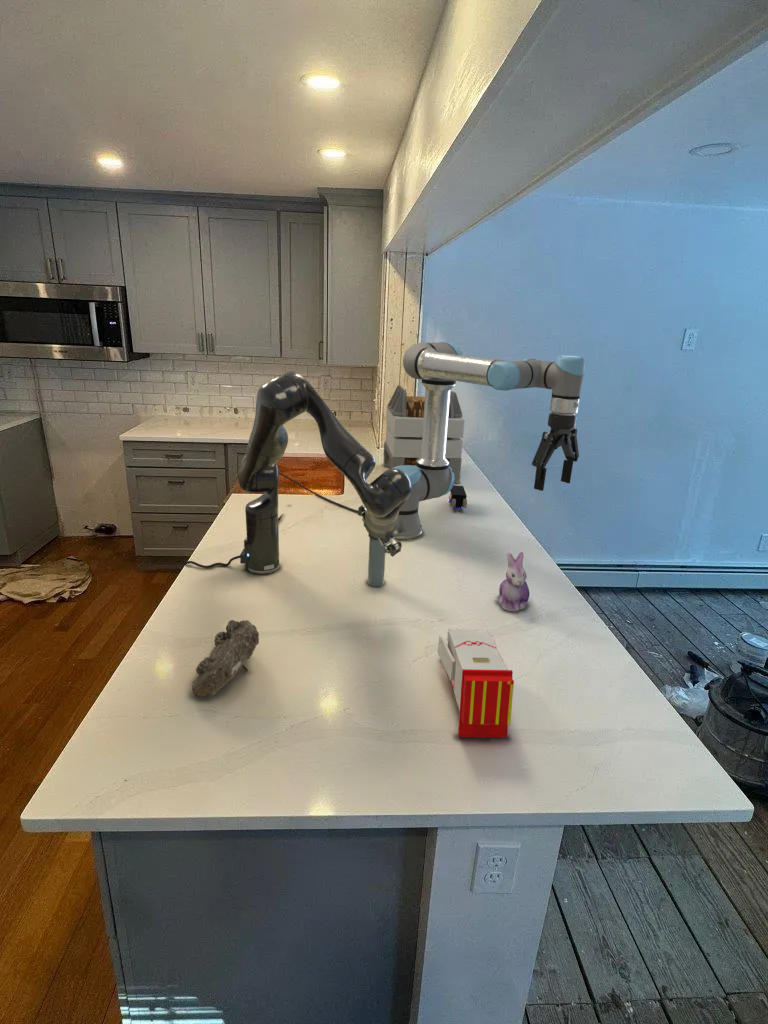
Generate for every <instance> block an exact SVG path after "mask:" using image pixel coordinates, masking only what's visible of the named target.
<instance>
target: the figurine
mask: <svg viewBox="0 0 768 1024" xmlns="http://www.w3.org/2000/svg"><path fill="white" fill-rule="evenodd" d="M506 556H507V569H506V571H505V579H504V580H502V581H501V583H500V585H499V591H498V592H499V593H498V597H497V598H498V600H497V601H498V604H499V605H500V606H501V607H502V609H503V610H505V611H507V612H508V611H509V612H518V611H520V610H521V611H522V610H524V609H525V608H526V607H527V605H528V601H529V599H530V588H529V585H528V584H527V581H526V580H527V571H526V570H525V567H524V552H523V551H520V552H519V553H518V555H517V557H516V559H515V557H514V556H513V554H512V553H511V552H508V553H507V555H506Z"/></svg>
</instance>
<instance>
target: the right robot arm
mask: <svg viewBox="0 0 768 1024" xmlns="http://www.w3.org/2000/svg"><path fill="white" fill-rule="evenodd" d="M585 365H586V360H585V358H584V357H582V356H578V355H566V354H565V355H564V354H563V355H558V356H557V357H556V360H555V361H549V360H541V359H536V358H524V359H521V360H506V359H505V360H504V359H503V360H502V359H496V358H487V357H479V356H471V355H464V354H463V352H462V350H461V349H460V347H459V346H457V345H456V344H455V343H451V342H445V341H443V342H442V341H441V342H440V341H439V342H438V341H437V342H417V343H414V344H412V345H411V346H409V347H408V348H407V350H406V351H405V353H404V355H403V358H402V366H403V369H404V372H405V373H406V374H407V375H408V376H409V377H411V378H412V379H415V380H421V385H422V386H423V387H424V389H425V392H424V397H425V404H424V419H423V434H422V449H421V457H420V458H418V459H417V461H416V466H413V465H401V466H396V467H394V468H395V469H399V470H401V471H403V472H404V473H405V474H406V475H407V476H408V477H409V479H410V482H411V485H412V492H411V495H410V497H409V499H408V500H407V501H406V503H405V504H404V505H403V506H402V508H401V509H400V510H399V518H398V522H397V525H396V529H395V531H394V533H393V536H394V538H395V539H394V540H395V541H410V540H415V539H418V538H420V537H421V536H422V535H423V525H422V524H421V518H420V515H419V507H420V506H419V505H420V502H423V501H427V500H431V499H437V498H440V497H443V496H446V495H448V493H450V490H451V489H452V487H453V485H454V484H455V483H454V473H452V469H451V467H450V466H449V462H448V461H447V459H446V458H445V453H446V441H447V428H448V416H449V404H450V392H451V391H452V389H453V388H454V387H455V386H456V384H457V382H461V383H465V384H473V385H479V386H487V387H491V388H492V389H494V390H496V391H503V392H504V391H511V390H520V389H532V388H533V389H534V388H539V389H546V390H551V398H550V404H549V413H548V418H547V419H548V420H547V426H548V427H549V428H550V431H549V432H548V431H543V432H542V435H541V440H540V442H539V445H538V447H537V449H536V452H535V454H534V457H533V460H532V461H531V466H533V467H535V475H534V477H535V478H534V485H533V489H534V490H537V491H539V492H543V491H544V489H545V484H546V483H545V482H546V476H547V468H546V466H547V465H548V463H549V461H550V459H551V457H552V456H553V454H554V453H555V451H556V450H557V449H558V448H560V447H561V449H562V452H563V455H564V458H565V459H563V463H562V468H561V469H562V470H561V475H560V482H562V483H566V484H571V478H572V472H573V466H574V463H576V462H578V461H579V457H580V453H579V444H578V428H576V423H577V419H578V416H577V414H578V412H579V411H578V410H579V406H580V397H581V391H582V385H583V380H584V376H585ZM279 476H282V477H284V478H286V479H287V480H289V481H291V482H293V483H294V484H296V485H298V486H300V488H302V489H304V490H306V491H308V492H309V493H312V494H313V495H315V496H317V497H319V498H321V499H323V500H325V501H327V502H330V503H332V504H334V505H336V506H339V507H342V508H344V509H347V510H349V511H351V512H355V513H357V514H358V510H357V509H354V508H351V507H349V506H346V505H344V504H342V503H339V502H336V501H334V500H332V499H329V498H327V497H325V496H323V495H321V494H319V493H317V492H315V491H313V490H312V489H309V488H308V487H306V486H304V485H303V484H301V483H299V482H298V481H296V480H295V479H293V478H291V477H289V476H287V475H286V474H284V473H281V472H279Z"/></svg>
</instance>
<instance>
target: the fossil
mask: <svg viewBox="0 0 768 1024" xmlns="http://www.w3.org/2000/svg"><path fill="white" fill-rule="evenodd" d="M259 635H260V633H259V632H258V629H257V627H256V625H254V624H252V623H251V622H250V620H248V619H245V620H240V621H238V620H235V619H231V620H229V621H228V622H227V625H226V627H225V631H223V630H222V631H218V632H217V633H216V634H215V636H214V638H215V639H214V647H213V649H212V650H211V653H210V654H209V656H206V657H204V659H202V660H201V661H200V662H199V663H198V664H197V666H196V667H195V671H196V674H197V676H196V677H195V679H194V680H193V681H192V685H191V688H192V694H193V695H196V696H198V698H199V697H200V698H202V697H206V696H211V695H212V696H213V695H215V694H217V692H218V691H219V690H221V689H222V688H224V686H226V684H227V683H228V682H229V681H231V680H232V679H233V678H234V677H235V676H237V673H238V671H239V670H240V669H243V670H244V671H245V672H249V669H248V668H247V667H246V666H245V662H246V661H247V660H249V659H250V658H251V657H252V655H253V654H254V652H255V649H256V647H257V646H258V645H259V643H260V637H259Z"/></svg>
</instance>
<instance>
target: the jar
mask: <svg viewBox="0 0 768 1024" xmlns="http://www.w3.org/2000/svg"><path fill="white" fill-rule="evenodd" d="M368 539H369V540H368V565H367V566H368V567H367V568H368V569H367V584H368V585H369V586H371V587H382V586H383V585H384V584H385V570H386V568H385V567H386V553H385V552H384V549H385V547H384V546H383V545H382V544H381V543H380V541H379V540H375V539H371V538H370V537H369V536H368ZM383 541H384V540H383Z"/></svg>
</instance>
